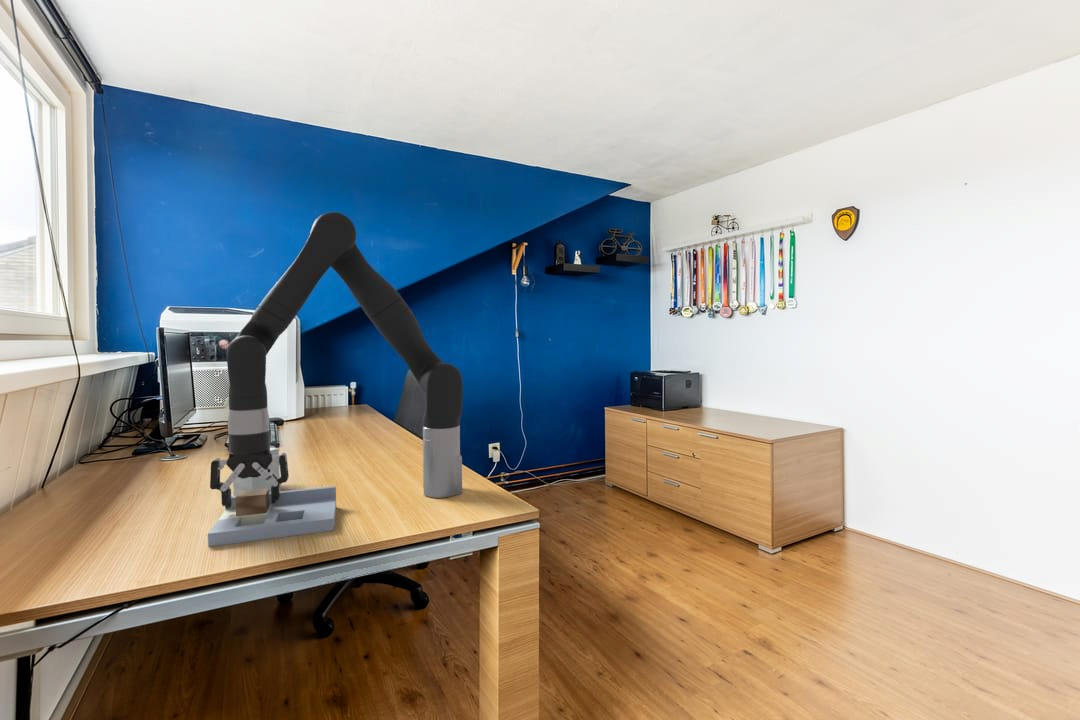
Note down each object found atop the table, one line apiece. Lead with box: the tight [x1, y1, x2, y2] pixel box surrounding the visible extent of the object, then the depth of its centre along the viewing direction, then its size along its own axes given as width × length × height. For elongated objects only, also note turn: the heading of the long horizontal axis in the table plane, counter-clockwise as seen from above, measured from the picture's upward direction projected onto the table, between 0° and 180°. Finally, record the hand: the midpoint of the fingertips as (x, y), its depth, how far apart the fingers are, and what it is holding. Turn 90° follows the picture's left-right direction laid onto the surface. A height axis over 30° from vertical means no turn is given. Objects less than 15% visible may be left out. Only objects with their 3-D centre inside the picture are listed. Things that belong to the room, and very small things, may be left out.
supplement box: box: [232, 447, 281, 496], centre depth 119 cm, size 7×7×13 cm
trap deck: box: [207, 485, 337, 547], centre depth 104 cm, size 22×15×5 cm
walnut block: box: [235, 488, 269, 516], centre depth 105 cm, size 6×4×4 cm
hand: (251, 504), depth 105 cm, fingers open, 8 cm apart
